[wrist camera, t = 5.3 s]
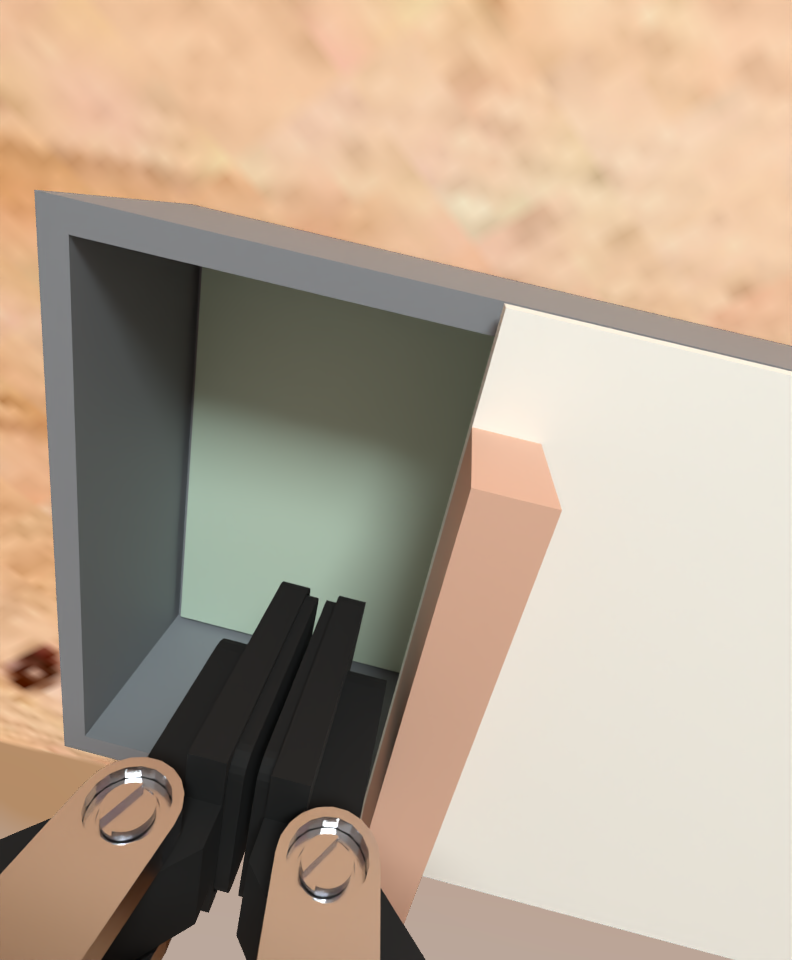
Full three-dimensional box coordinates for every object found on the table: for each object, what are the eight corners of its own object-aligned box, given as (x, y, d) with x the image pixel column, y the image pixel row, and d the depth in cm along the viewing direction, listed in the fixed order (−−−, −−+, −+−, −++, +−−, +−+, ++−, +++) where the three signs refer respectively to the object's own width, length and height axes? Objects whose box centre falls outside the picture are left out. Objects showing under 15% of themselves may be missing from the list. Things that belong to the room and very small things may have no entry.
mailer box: (931, 379, 15) (1200, 466, 9) (698, 749, 21) (780, 936, 15) (191, 204, 15) (34, 189, 10) (170, 612, 21) (64, 745, 16)
